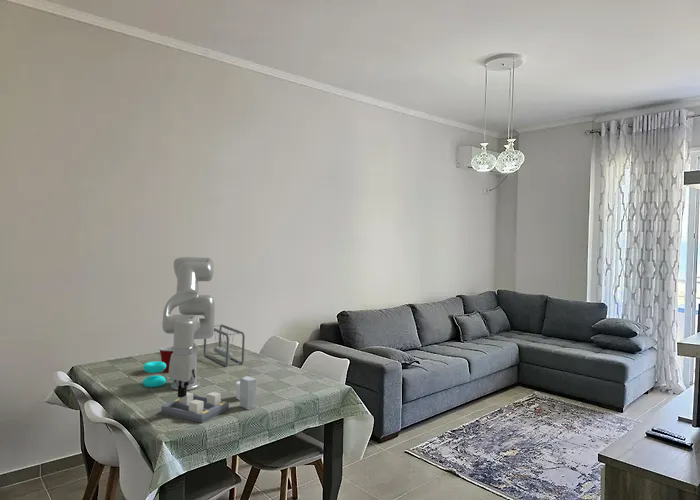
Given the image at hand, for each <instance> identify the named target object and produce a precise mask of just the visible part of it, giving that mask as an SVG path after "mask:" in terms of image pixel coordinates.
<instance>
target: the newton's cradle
mask: <svg viewBox="0 0 700 500" xmlns="http://www.w3.org/2000/svg"><path fill="white" fill-rule="evenodd" d="M217 327H218V328H217ZM226 330H227V331H226ZM214 332H215V333H216V334H218V338H216V336H214V337H215V338H214V339H215V340H217V339H218V343H215V345H216V346H214V348H213V351H214V353H211V354H210V353H209V354H207V353H206V352H207V339H203V355H204V356H205V357H206V358H208V359H210V360H212V361H214V362H215V363H217V364H219V365H222V366H223V367H228V366H232V365H233V366H234V365H238V364H240V365H243V364H244V363H245V360H244V359H245V337H246V335H245V333H244V332H243V331H241V330H238V329H236V328H232V327H229V326H227V325H224V324H220V325H219V324H218V325H217V324H216V327H214ZM240 334H241V336H242V342H241V343H242V346H241V361H240V360H238V359H236V358H234V354H233V353H232V352H231V350H232V349H229V345H230V344H229V343H230V336H232V335H233V336H232V337H234V336H235V335H240ZM222 335H223V336H222ZM223 338H225V339H226V340H224V339H223ZM233 340H234V339H232V341H231V342H233ZM223 341H224V344H226V345H224V346H223V344H222V342H223ZM217 344H218V345H217ZM232 345H233V344H231V345H230V347H232ZM212 355H219V356H222V357H223V358H225V363H223V362H222V361H220V360H218V359H216V358H215V357H212ZM231 359H232V360H231ZM229 360H231V361H234V362H236V363H230V364H229Z"/></svg>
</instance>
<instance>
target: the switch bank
mask: <svg viewBox="0 0 700 500" xmlns="http://www.w3.org/2000/svg"><path fill="white" fill-rule="evenodd" d="M193 400H200V401H204V406H203V412H202V413H200V414H198V413H194V412H190V411H189V405H187V404H182V403H179V398H177V399H175V400H172V401H171V402H168V403H166V404H163V405H161V412H160V413H161V414H162V415H167V416H172V417H174V418H180V419H184V420H189V421H192V422H196V423H200V424H203V423H206V422H207V421H209V420H211V419H213V418H214V417H217V416H219V415H221V414H223V413H225V412H227V411H228V410H229V407H230V406H229V405H230V404H229V403H230V402H228V401H224V400H221V402H220V404H218V405H214V404H209V403H207V396H206V397H205V396H200V395H195V394H193Z"/></svg>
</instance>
